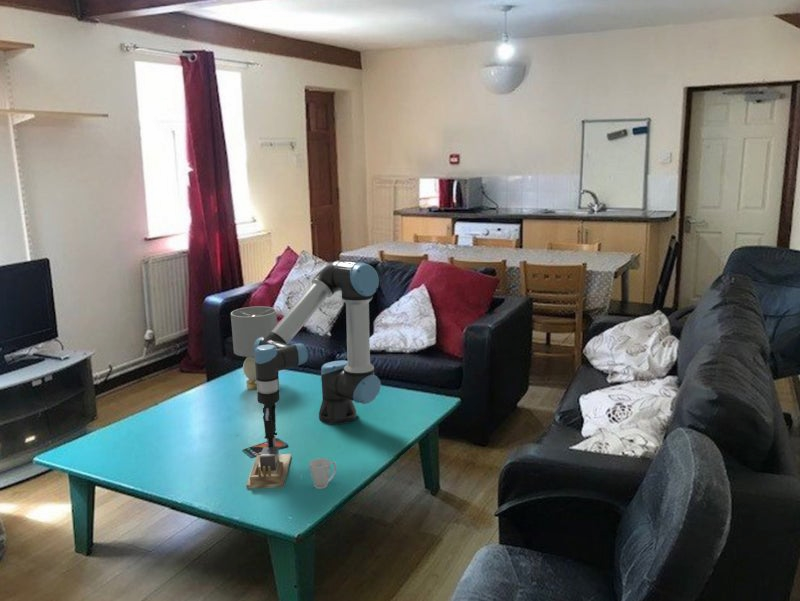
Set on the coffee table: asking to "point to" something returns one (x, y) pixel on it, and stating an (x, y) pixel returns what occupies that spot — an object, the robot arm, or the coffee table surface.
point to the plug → (269, 458)
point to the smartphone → (258, 448)
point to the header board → (269, 474)
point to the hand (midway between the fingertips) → (272, 454)
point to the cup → (321, 472)
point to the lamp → (251, 335)
